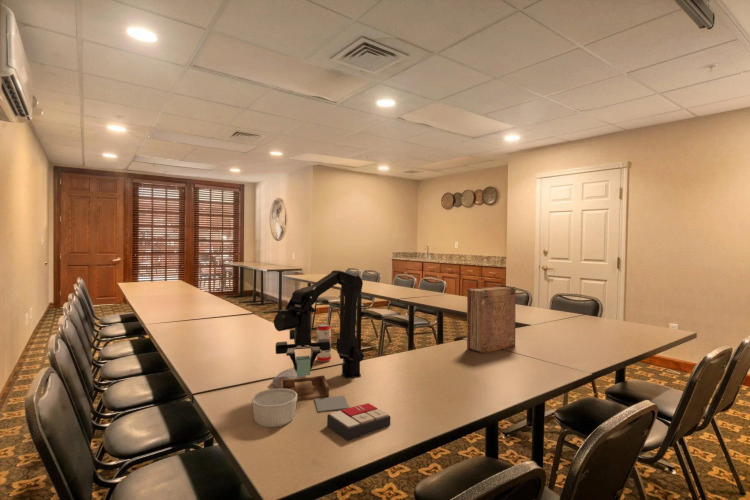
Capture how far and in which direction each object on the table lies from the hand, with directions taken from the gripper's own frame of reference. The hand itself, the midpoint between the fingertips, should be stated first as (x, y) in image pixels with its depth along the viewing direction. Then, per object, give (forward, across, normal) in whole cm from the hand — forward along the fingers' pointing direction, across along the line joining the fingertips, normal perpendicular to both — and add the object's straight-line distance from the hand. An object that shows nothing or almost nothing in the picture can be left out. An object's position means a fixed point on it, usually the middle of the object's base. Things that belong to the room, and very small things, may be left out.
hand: (303, 370), depth 137 cm
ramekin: (+8, +10, +18) cm, 22 cm away
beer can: (+8, -12, -36) cm, 39 cm away
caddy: (+8, 0, 0) cm, 8 cm away
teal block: (+1, 0, 0) cm, 1 cm away
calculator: (+9, -13, +29) cm, 33 cm away
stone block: (+8, +4, -13) cm, 16 cm away
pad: (+8, -8, +12) cm, 16 cm away
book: (+8, -96, -35) cm, 102 cm away
